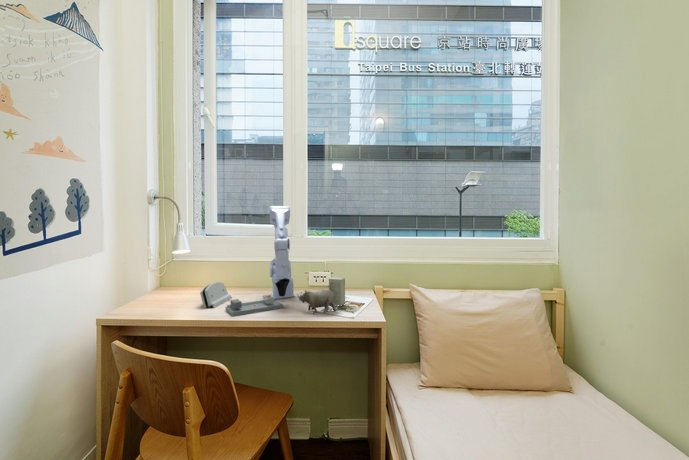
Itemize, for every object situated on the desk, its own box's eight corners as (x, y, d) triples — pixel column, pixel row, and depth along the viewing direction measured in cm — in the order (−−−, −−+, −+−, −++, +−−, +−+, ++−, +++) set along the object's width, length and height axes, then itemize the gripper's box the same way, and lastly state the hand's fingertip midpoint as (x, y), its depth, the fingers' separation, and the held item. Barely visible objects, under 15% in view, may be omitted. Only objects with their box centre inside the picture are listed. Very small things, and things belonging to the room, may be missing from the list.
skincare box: (345, 304, 166) (345, 277, 165) (341, 307, 162) (341, 279, 161) (332, 303, 169) (332, 276, 168) (328, 305, 165) (328, 278, 164)
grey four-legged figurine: (341, 309, 151) (320, 278, 151) (313, 328, 151) (292, 297, 152) (342, 305, 158) (322, 276, 159) (316, 323, 159) (296, 294, 160)
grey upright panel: (214, 308, 158) (206, 286, 158) (204, 311, 159) (197, 289, 159) (232, 298, 175) (225, 278, 175) (223, 301, 176) (216, 281, 175)
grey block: (269, 301, 164) (269, 293, 164) (273, 303, 160) (273, 295, 159) (262, 302, 162) (262, 294, 162) (267, 304, 158) (267, 296, 158)
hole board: (274, 303, 168) (274, 292, 167) (283, 307, 160) (283, 297, 160) (225, 310, 155) (225, 299, 155) (232, 316, 148) (232, 304, 147)
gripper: (281, 262, 171) (281, 291, 172) (265, 267, 158) (265, 299, 159) (295, 263, 169) (295, 292, 170) (280, 268, 155) (280, 300, 156)
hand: (282, 295), depth 164 cm, fingers closed
